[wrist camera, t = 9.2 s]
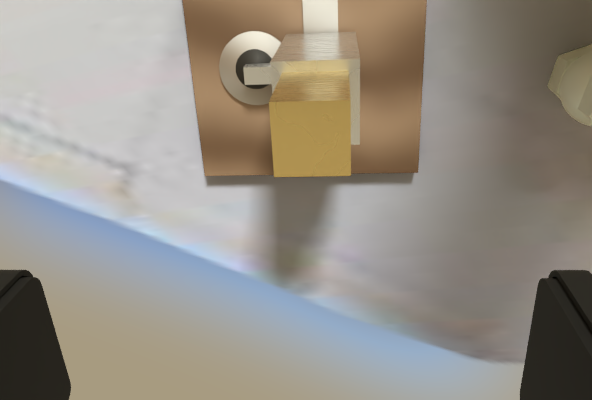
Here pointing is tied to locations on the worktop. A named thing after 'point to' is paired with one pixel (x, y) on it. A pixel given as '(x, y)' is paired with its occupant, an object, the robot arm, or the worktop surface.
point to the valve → (574, 83)
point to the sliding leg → (312, 103)
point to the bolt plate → (255, 98)
